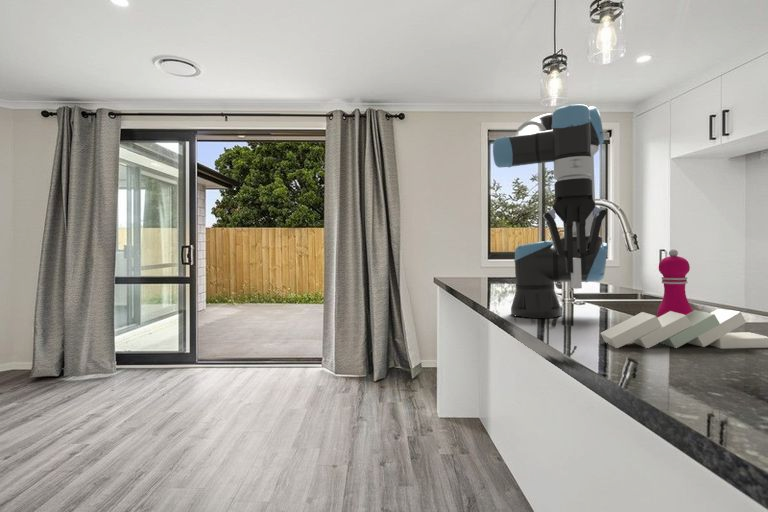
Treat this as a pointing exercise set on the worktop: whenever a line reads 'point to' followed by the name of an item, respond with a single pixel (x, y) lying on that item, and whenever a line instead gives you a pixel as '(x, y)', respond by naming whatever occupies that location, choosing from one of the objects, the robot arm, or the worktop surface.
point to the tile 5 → (741, 341)
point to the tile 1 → (631, 329)
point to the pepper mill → (674, 284)
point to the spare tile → (693, 328)
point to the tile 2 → (665, 329)
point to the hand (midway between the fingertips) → (576, 287)
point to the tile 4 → (720, 327)
